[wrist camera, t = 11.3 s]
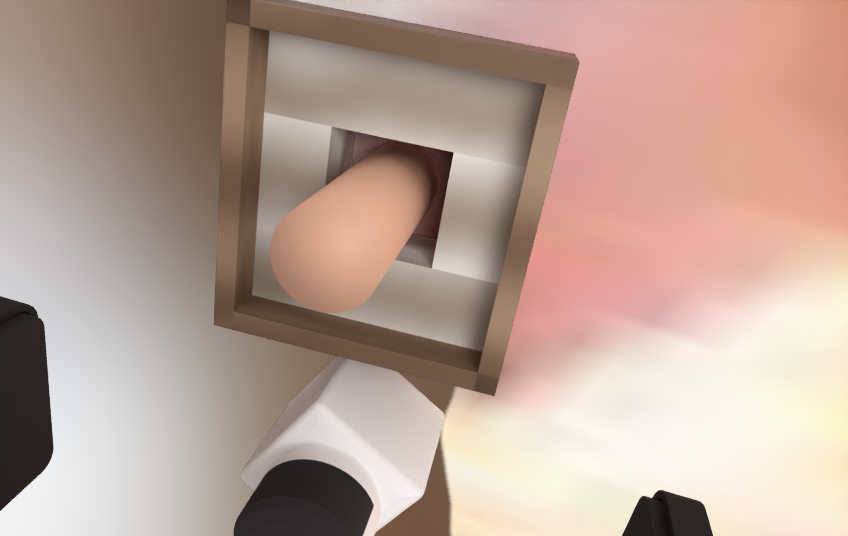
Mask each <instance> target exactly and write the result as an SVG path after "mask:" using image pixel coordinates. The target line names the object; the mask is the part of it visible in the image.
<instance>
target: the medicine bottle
mask: <svg viewBox="0 0 848 536" xmlns="http://www.w3.org/2000/svg"><path fill="white" fill-rule="evenodd" d="M443 422H444V414H443V412H442V411H441V410H440V409H439V408H437V407H436V406H435V405H434V404H433V403H432V402H431V401H430V400H428V399H427V398H426V397H425V396H424V395H423V394H422V393H421V392H419V391H418V390H417V389H416V388H415V387H414V386H413V385H412V384H411V383H410V382H408V381H407V380H406V379H405V378H404V377H403V376H402V375H401V374H399V373H398V372H397V371H394V370H390V369H386V368H382V367H378V366H374V365H370V364H366V363H362V362H358V361H354V360H350V359H346V358H342V357H339V356H337V357H336V358H335V359H334V360H333V361H332V362H331V363H330V364H329V365H328V366H327V367H325V368H324V370H322V371H321V373H319V374H318V375H317V376H316V377H315V378H314V379H313V380H312V381H311V382H310V383H309V384H308V385H307V386H306V387H305V388H304V389H303V390H302V391H301V392H300V393H299V394H298V395H297V396H296V397H295V398H294V399H293V400H292V401H291V402H289V404H288V405H287V407H286V408H285V410H284V411H283V413H282V414H281V415H280V417H279V418H278V420H277V421H276V423H275V424H274V425H273V427H272V428H271V430H270V431H269V433H268V434H267V436H266V437H265V438H264V440H263V441H262V443H261V444H260V446H259V447H258V449H257V450H256V452H255V453H254V454H253V456H252V457H251V459H250V460H249V462H248V463H247V465H246V466H245V467H244V469H243V470H242V472H241V475H240V477H241V479H242V481H243V482H244V483H246V484H247V485H248V486H249V487H250V488H252V489H253V490H254V493H253V495H252V496H251V497H250V499H249V501H248V502H247V504H246V505H245V507H244V509H243V510H242V512H241V513H240V515H239V516H238V518H237V521H236V523H235V527H234V536H374V535H375V532H376V531H378V530H379V529H380V528H382V527H383V526H384V525H386V524H387V523H388V522H390V521H391V520H392V519H394V518H395V517H396V516H398V515H399V514H400V513H401V512H403V511H404V510H405V509H407V508H408V507H409V506H411V505H412V504H413V503H414V502H416V501H417V500H419V499H420V498H421V497H422V495H423V494H424V490H425V487H426V483H427V480H428V476H429V473H430V469H431V465H432V462H433V458H434V454H435V451H436V447H437V443H438V440H439V436H440V433H441V429H442V426H443Z"/></svg>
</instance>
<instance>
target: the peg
mask: <svg viewBox="0 0 848 536" xmlns="http://www.w3.org/2000/svg"><path fill="white" fill-rule="evenodd" d="M439 187H440V174H439V169H438V166H437V164H436V162H435V160H434V159H433V157H432V156H431V155H430V153H429V152H428V151H427V150H425V149H424V148H423V147H421V146H420V145H416V144H412V143H407V142H402V141H397V140H396V141H391V142H387V143H385V144H383V145H381V146H380V147H378V148H377V149H376V150H374V151H373V152H372V153H370V154H369V155H367V156H366V157H365V158H363V159H362V160H361V161H359V162H358V163H356V164H355V165H354V166H352V167H351V168H350V169H348V170H347V171H345V172H344V173H343V174H341V175H340V176H339V177H337V178H336V179H335V180H333V181H332V182H330V183H329V184H328V185H326V186H325V187H324V188H322V189H321V190H319V191H318V192H317V193H315V194H314V195H313V196H311V197H310V198H308V199H307V200H306V201H304V202H303V203H302V204H300V205H299V206H298V207H296V208H295V209H293V210H292V211H291V212H289V213H288V214H287V215H286V216H284V217H283V218H282V220H281V221H280V222H279V223H278V225H277V226H276V228H275V230H274V232H273V235H272V238H271V243H270V260H271V265H272V269H273V271H274V274H275V276H276V278H277V280H278V282H279V283H280V285H281V286H282V287H283V289H284V290H285V291H286V292H287V293H288V294H289V295H290V296H291V297H292V298H293V299H295V300H296V301H297V302H299V303H300V304H302V305H304V306H306V307H308V308H310V309H313V310H316V311H319V312H325V313H341V312H346V311H349V310H352V309H354V308H356V307H358V306H360V305H361V304H363V303H364V302H365V301H366V300H367V299H368V298H369V297H370V296H371V295H372V293H373V292H374V291H375V289H376V288H377V286H378V285H379V283H380V282H381V280H382V279H383V277H384V276H385V274H386V273H387V271H388V270H389V268H390V266H391V265H392V263H393V262H394V260H395V259H396V257H397V256H398V254H399V253H400V251H401V250H402V248H403V247H404V245H405V244H406V242H407V241H408V239H409V238H410V236H411V235H412V233H413V232H414V230H415V229H416V227H417V226H418V224H419V223H420V221H421V220H422V218H423V217H424V215H425V214H426V212H427V211H428V209H429V208H430V206H431V205H432V203H433V202H434V200H435V198H436V197H437V194H438V191H439Z"/></svg>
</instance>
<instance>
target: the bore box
mask: <svg viewBox="0 0 848 536" xmlns="http://www.w3.org/2000/svg"><path fill="white" fill-rule="evenodd" d="M578 66H579V61H578V59H577V57H576V55H575V54H572V53H567V52H561V51H556V50H551V49H546V48H540V47H535V46H530V45H524V44H519V43H514V42H509V41H503V40H498V39H493V38H487V37H482V36H477V35H472V34H466V33H461V32H456V31H450V30H445V29H440V28H435V27H429V26H424V25H419V24H413V23H408V22H403V21H397V20H392V19H387V18H382V17H376V16H371V15H366V14H360V13H355V12H350V11H345V10H339V9H334V8H329V7H323V6H318V5H313V4H308V3H302V2H297V1H292V0H227V11H226V35H225V62H224V85H223V86H224V87H223V110H222V111H223V112H222V135H221V160H220V186H219V209H218V234H217V259H216V260H217V261H216V284H215V308H214V325H216V326H220V327H224V328H228V329H232V330H236V331H240V332H244V333H248V334H252V335H256V336H260V337H264V338H267V339H272V340H275V341H279V342H283V343H287V344H291V345H295V346H299V347H303V348H307V349H311V350H315V351H319V352H323V353H327V354H331V355H335V356H339V357H342V358H346V359H350V360H354V361H358V362H362V363H366V364H370V365H374V366H378V367H382V368H386V369H390V370H394V371H398V372H402V373H406V374H410V375H413V376H418V377H421V378H426V379H429V380H433V381H437V382H441V383H445V384H449V385H453V386H457V387H461V388H465V389H469V390H473V391H477V392H481V393H485V394H488V395H492V396H495V392H496V388H497V384H498V380H499V376H500V373H501V369H502V365H503V361H504V357H505V353H506V349H507V345H508V341H509V337H510V333H511V329H512V325H513V321H514V317H515V314H516V310H517V306H518V302H519V298H520V294H521V290H522V286H523V282H524V278H525V274H526V270H527V266H528V262H529V259H530V255H531V251H532V247H533V243H534V239H535V235H536V231H537V227H538V223H539V219H540V215H541V211H542V207H543V204H544V200H545V196H546V192H547V188H548V184H549V180H550V176H551V172H552V168H553V164H554V160H555V156H556V152H557V148H558V145H559V141H560V137H561V133H562V129H563V125H564V121H565V117H566V113H567V109H568V105H569V101H570V97H571V93H572V90H573V86H574V82H575V78H576V74H577V70H578ZM355 132H360V133H364V134H369V135H374V136H378V137H383V138H388V139H393V140H397V141H402V142H407V143H412V144H416V145H421V146H426V147H431V148H435V149H440V150H445V151H450V152H454V153H453V159H452V164H451V169H450V175H449V180H448V185H447V191H446V196H445V201H444V206H443V212H442V217H441V222H440V228H439V233H438V238H437V239H434V238H430V237H425V236H421V235H416V234H412V235H411V236H410V238H409V239H408V241H407V242H406V244H405V245H404V247H403V248H402V250H401V251H400V253H399V254H398V256H397V257H396V259H395V260H394V262H393V263H392V265H391V266H390V268H389V270H388V271H387V273H386V274H385V276H384V277H383V279H382V280H381V282H380V283H379V285H378V286H377V288H376V289H375V291H374V292H373V293H372V295H371V296H370V297H369V298H368V299H367V300H366V301H365V302H364V303H363V304H361V305H360V306H358V307H356V308H354V309H352V310H349V311H346V312H341V313H325V312H319V311H316V310H313V309H310V308H308V307H306V306H304V305H302V304H300V303H299V302H297V301H296V300H295V299H293V298H292V297H291V296H290V295H289V294H288V293H287V292H286V291H285V290H284V289H283V287H282V286H281V285H280V283H279V282H278V280H277V278H276V276H275V274H274V271H273V269H272V265H271V260H270V243H271V238H272V235H273V232H274V230H275V228H276V226H277V225H278V223H279V222H280V221H281V220H282V218H283V217H284V216H286V215H287V214H288V213H289V212H291V211H292V210H293V209H295V208H296V207H298V206H299V205H300V204H302V203H303V202H304V201H306V200H307V199H308V198H310V197H311V196H313V195H314V194H315V193H317V192H318V191H319V190H321V189H322V188H324V187H325V186H326V185H328V184H329V183H330V182H332V181H333V180H335V179H336V178H337V177H339V176H340V175H341V174H343V173H344V172H345V171H347V170H348V169H350V168H351V160H352V152H353V144H354V136H355Z"/></svg>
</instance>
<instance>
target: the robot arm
mask: <svg viewBox="0 0 848 536" xmlns="http://www.w3.org/2000/svg"><path fill="white" fill-rule="evenodd" d="M52 453H53V436H52V422H51V409H50V396H49V384H48V370H47V356H46V343H45V330H44V324H43V321H42V320H41V319H40V318H38V315H37V311H36V310H35V309H34V307H32V306H30V305H28V304H25V303H21V302H18V301H14V300H10V299H8V298H4V297H1V296H0V511H1V510H2V509H3V508H4V507H5V506H6V505H7V504H8V503H9V502H10V501H11V500H12V499H14V498H15V497H16V496H17V495H18V494H19V493H20V492H21V491H22V490H23V489H24V488H25V487H26V486H28V484H30V483H31V482H32V481H33V480H34V479H35V478H36V477H37V476H38V475H39V474H41V473H42V472H43V470H44V469H45V468H46V466H47V465H48V464H49V462H50V460H51V457H52ZM622 536H713V534H712V531H711V527H710V523H709V520H708V516H707V513H706V510H705V507H704V505H703V504H702V503H701V502H700V501H697V500H693V499H690V498H687V497H683V496H680V495H676V494H673V493H669V492H666V491H663V490H659V491H657V492H656V493H655V495H654V496H653V498H649V497H646V496H642V497H641V498H640V500H639V501H638V503H637V505H636V507H635V509H634V512H633V514H632V516H631V518H630V520H629V522H628V524H627V526H626V529H625V531H624V533H623V535H622Z"/></svg>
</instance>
